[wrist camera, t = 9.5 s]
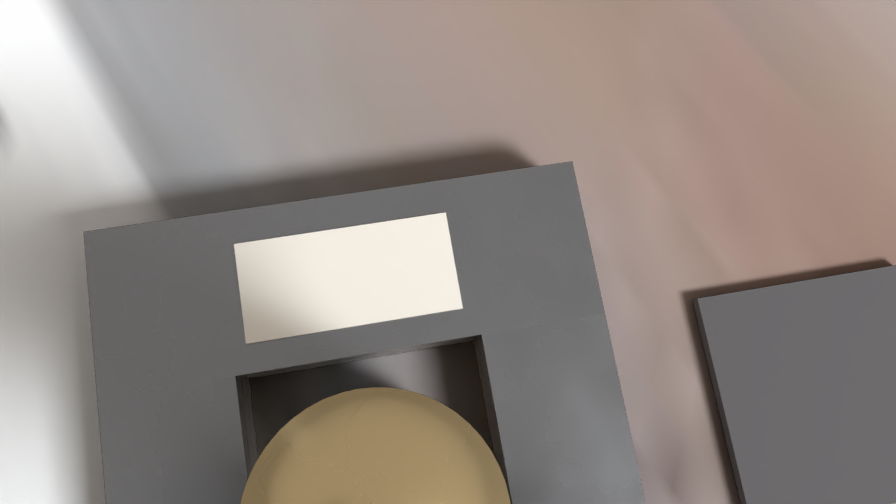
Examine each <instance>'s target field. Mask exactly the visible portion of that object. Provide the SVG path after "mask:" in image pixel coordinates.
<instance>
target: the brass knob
mask: <svg viewBox="0 0 896 504" xmlns="http://www.w3.org/2000/svg"><path fill="white" fill-rule="evenodd" d="M241 504H511V503H510V498H509V494H508V490H507V486H506V482H505V479H504V477H503V474H502V472H501V469H500V466H499V464H498V462H497V461H496V459H495V457H494V455H493V453H492V451H491V450H490V448H489V447H488V445H487V444H486V443H485V441H484V440H483V438H482V437H481V436H480V435H479V433H478V432H477V431H476V430H475V429H474V428H473V427H472V426H471V425H470V424H469V423H468V422H467V421H466V420H465V419H463V418H462V417H461V416H460V415H458V414H457V413H456V412H455V411H453V410H452V409H450V408H448V407H447V406H445V405H444V404H442V403H440V402H438V401H436V400H434V399H432V398H429V397H427V396H425V395H422V394H418V393H415V392H412V391H408V390H402V389H396V388H384V387H371V388H362V389H355V390H350V391H346V392H342V393H338V394H336V395H333V396H331V397H328V398H326V399H323V400H321V401H319V402H317V403H315V404H314V405H312V406H310V407H308V408H306V409H305V410H304V411H302V412H301V413H299V414H298V415H297V416H295V417H294V418H292V419H291V420H290V421H289V422H288V423H287V424H286V425H285V426H284V427H283V428H282V429H280V430H279V431H278V433H277V434H276V435H275V436H274V437H273V439H272V440H271V441H270V442H269V443H268V444H267V446H266V447H265V449H264V450H263V452H262V453H261V455H260V457H259V458H258V460H257V461H256V463H255V465H254V467H253V469H252V471H251V474H250V476H249V478H248V480H247V483H246V486H245V489H244V492H243V495H242V499H241Z"/></svg>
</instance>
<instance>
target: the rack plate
mask: <svg viewBox="0 0 896 504" xmlns="http://www.w3.org/2000/svg"><path fill="white" fill-rule="evenodd" d="M84 244H85V256H86V268H87V280H88V292H89V304H90V316H91V329H92V341H93V353H94V365H95V377H96V389H97V401H98V413H99V425H100V437H101V449H102V462H103V474H104V486H105V498H106V504H241V499H242V495H243V492H244V489H245V486H246V483H247V480H248V478H249V476H250V474H251V471H252V469H253V467H254V465H255V463H256V461H257V460H258V450H257V442H256V434H255V426H254V417H253V409H252V401H251V393H250V384H249V379H250V378H256V377H262V376H268V375H274V374H280V373H285V372H291V371H297V370H303V369H309V368H315V367H321V366H327V365H333V364H339V363H345V362H350V361H356V360H362V359H368V358H374V357H380V356H386V355H392V354H398V353H404V352H410V351H415V350H421V349H427V348H433V347H439V346H445V345H451V344H457V343H463V342H469V341H474V346H475V351H476V357H477V362H478V368H479V373H480V379H481V385H482V390H483V396H484V401H485V407H486V412H487V418H488V424H489V429H490V435H491V440H492V446H493V451H494V457H495V459H496V461H497V462H498V464H499V466H500V469H501V472H502V474H503V477H504V479H505V482H506V486H507V490H508V494H509V498H510V503H511V504H646V503H645V498H644V493H643V489H642V484H641V479H640V475H639V470H638V465H637V461H636V456H635V451H634V447H633V442H632V437H631V433H630V428H629V423H628V419H627V414H626V409H625V405H624V400H623V395H622V391H621V386H620V381H619V377H618V372H617V367H616V363H615V358H614V353H613V349H612V344H611V339H610V335H609V330H608V325H607V321H606V316H605V311H604V307H603V302H602V297H601V293H600V288H599V284H598V279H597V274H596V270H595V265H594V260H593V256H592V251H591V246H590V242H589V237H588V232H587V228H586V223H585V218H584V214H583V209H582V204H581V200H580V195H579V190H578V186H577V181H576V176H575V172H574V167H573V162H572V161H570V162H564V163H557V164H550V165H543V166H536V167H529V168H522V169H515V170H508V171H501V172H494V173H487V174H481V175H474V176H467V177H460V178H453V179H446V180H439V181H432V182H425V183H418V184H411V185H404V186H397V187H391V188H384V189H377V190H370V191H363V192H356V193H349V194H342V195H335V196H328V197H321V198H314V199H307V200H301V201H294V202H287V203H280V204H273V205H266V206H259V207H252V208H245V209H238V210H231V211H224V212H217V213H211V214H204V215H197V216H190V217H183V218H176V219H169V220H162V221H155V222H148V223H141V224H134V225H128V226H121V227H114V228H107V229H100V230H93V231H86V232H84Z"/></svg>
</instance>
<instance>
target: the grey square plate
mask: <svg viewBox="0 0 896 504" xmlns="http://www.w3.org/2000/svg"><path fill="white" fill-rule="evenodd" d="M693 305H694V309H695V313H696V317H697V322H698V326H699V330H700V334H701V338H702V343H703V347H704V351H705V355H706V359H707V364H708V368H709V372H710V376H711V380H712V385H713V389H714V393H715V397H716V401H717V406H718V410H719V414H720V418H721V423H722V427H723V431H724V435H725V439H726V444H727V448H728V452H729V456H730V460H731V465H732V469H733V473H734V477H735V481H736V486H737V490H738V494H739V498H740V502H741V504H891V503H895V502H896V265H894V266H888V267H882V268H876V269H870V270H864V271H858V272H852V273H846V274H841V275H835V276H829V277H823V278H817V279H811V280H805V281H799V282H793V283H787V284H781V285H775V286H769V287H763V288H757V289H752V290H746V291H740V292H734V293H728V294H722V295H716V296H710V297H704V298H698V299H695V300H693Z"/></svg>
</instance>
